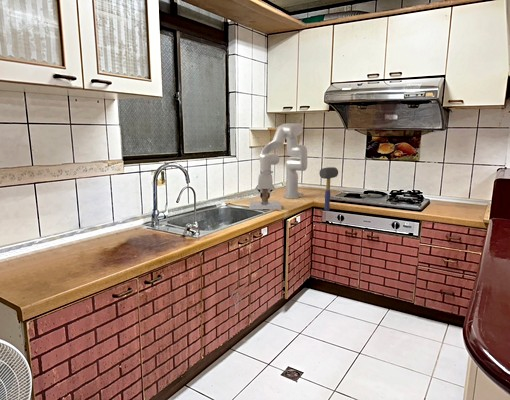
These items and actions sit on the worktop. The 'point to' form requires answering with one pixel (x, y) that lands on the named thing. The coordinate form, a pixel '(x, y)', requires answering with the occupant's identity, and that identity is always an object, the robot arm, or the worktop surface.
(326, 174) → the rubber mallet
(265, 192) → the walnut wedge
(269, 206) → the rosette plate
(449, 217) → the worktop surface
